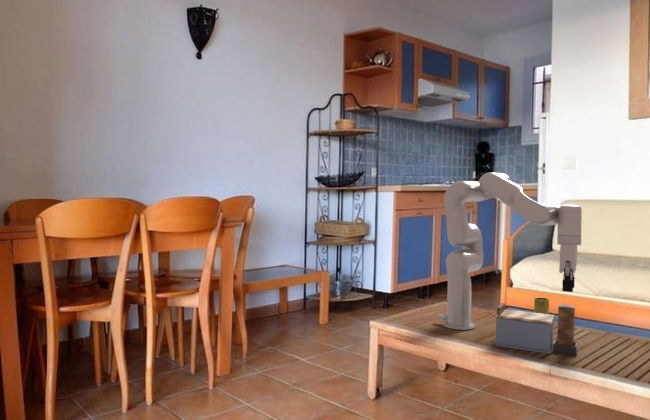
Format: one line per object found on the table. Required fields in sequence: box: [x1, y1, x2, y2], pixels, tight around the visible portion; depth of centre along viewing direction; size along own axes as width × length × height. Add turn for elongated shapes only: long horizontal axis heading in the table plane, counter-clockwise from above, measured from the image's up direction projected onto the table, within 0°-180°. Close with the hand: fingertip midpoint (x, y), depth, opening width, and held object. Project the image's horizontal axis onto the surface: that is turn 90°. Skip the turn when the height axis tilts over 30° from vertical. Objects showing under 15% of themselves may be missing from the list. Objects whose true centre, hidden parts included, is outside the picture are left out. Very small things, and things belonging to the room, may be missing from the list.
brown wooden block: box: [556, 303, 576, 346], centre depth 181 cm, size 5×5×16 cm
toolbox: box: [495, 317, 555, 355], centre depth 188 cm, size 18×12×10 cm, turn 62°
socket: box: [552, 338, 578, 357], centre depth 181 cm, size 7×7×3 cm
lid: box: [494, 302, 556, 324], centre depth 188 cm, size 19×13×3 cm
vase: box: [533, 296, 550, 314], centre depth 204 cm, size 6×6×14 cm
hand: (568, 289), depth 181 cm, fingers open, 9 cm apart
